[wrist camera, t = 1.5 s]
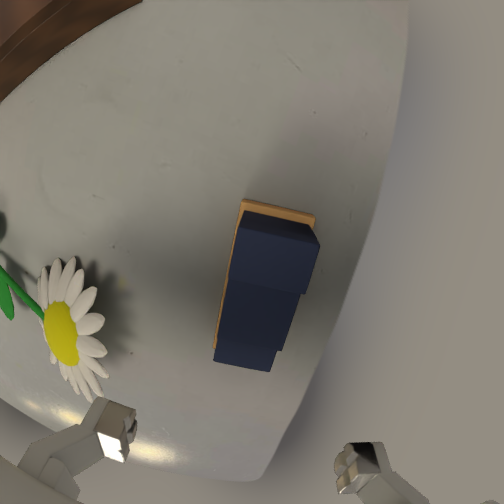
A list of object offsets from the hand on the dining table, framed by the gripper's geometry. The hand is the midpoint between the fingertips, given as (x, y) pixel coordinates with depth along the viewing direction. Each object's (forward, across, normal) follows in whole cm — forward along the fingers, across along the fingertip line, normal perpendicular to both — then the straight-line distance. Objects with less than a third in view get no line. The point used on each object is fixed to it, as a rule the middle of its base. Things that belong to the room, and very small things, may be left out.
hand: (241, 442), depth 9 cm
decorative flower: (+14, +24, +4) cm, 28 cm away
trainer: (+14, 0, 0) cm, 14 cm away
